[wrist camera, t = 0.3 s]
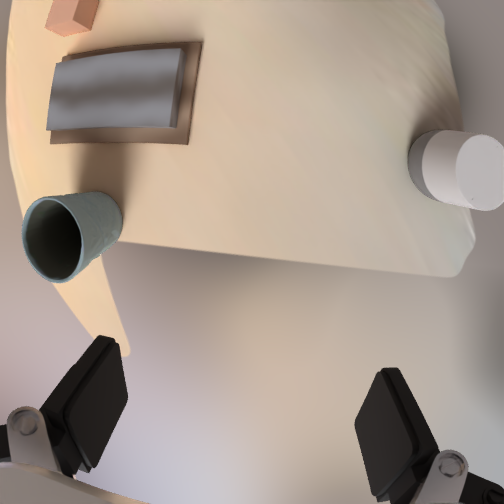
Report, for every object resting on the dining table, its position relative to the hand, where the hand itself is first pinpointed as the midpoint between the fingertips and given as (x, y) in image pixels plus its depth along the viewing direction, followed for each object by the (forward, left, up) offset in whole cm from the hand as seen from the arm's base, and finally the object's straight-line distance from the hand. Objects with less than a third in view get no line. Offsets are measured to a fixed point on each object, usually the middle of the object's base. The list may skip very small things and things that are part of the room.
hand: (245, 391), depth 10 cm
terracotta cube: (-29, -31, -31) cm, 53 cm away
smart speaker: (-11, +23, -31) cm, 40 cm away
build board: (-15, -21, -31) cm, 40 cm away
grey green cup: (+3, -23, -31) cm, 39 cm away
